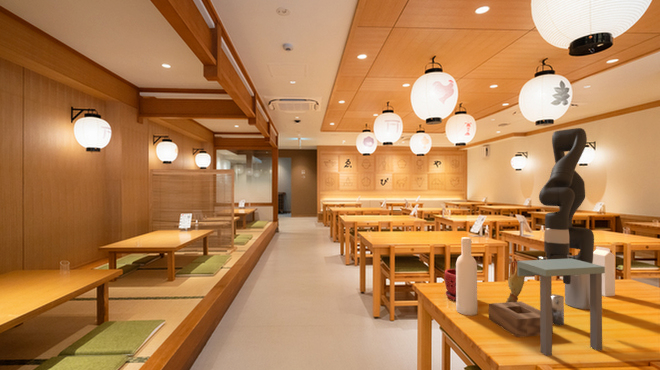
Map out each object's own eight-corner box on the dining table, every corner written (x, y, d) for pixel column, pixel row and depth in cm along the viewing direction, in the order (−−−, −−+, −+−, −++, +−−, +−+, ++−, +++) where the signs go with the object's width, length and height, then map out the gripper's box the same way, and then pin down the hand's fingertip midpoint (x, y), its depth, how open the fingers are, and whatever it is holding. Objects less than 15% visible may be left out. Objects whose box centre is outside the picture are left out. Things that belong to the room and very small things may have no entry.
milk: (601, 291, 147) (601, 245, 148) (615, 295, 141) (615, 248, 142) (591, 292, 146) (591, 246, 146) (605, 296, 140) (605, 248, 140)
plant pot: (466, 306, 129) (466, 278, 129) (439, 297, 140) (438, 271, 140) (481, 299, 137) (481, 272, 137) (454, 291, 148) (454, 266, 148)
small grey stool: (571, 333, 105) (571, 258, 105) (605, 350, 94) (604, 266, 94) (517, 338, 102) (517, 260, 102) (546, 356, 91) (545, 269, 91)
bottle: (476, 317, 118) (475, 240, 118) (454, 312, 122) (454, 238, 123) (478, 310, 125) (478, 237, 125) (457, 306, 129) (457, 235, 129)
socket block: (521, 316, 119) (521, 301, 119) (552, 333, 105) (552, 316, 105) (488, 319, 116) (488, 303, 116) (516, 337, 103) (516, 319, 103)
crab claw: (526, 312, 122) (526, 263, 123) (516, 314, 121) (516, 264, 121) (511, 306, 129) (511, 259, 129) (502, 307, 127) (501, 260, 128)
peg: (556, 320, 116) (556, 293, 116) (566, 325, 112) (566, 297, 112) (547, 321, 115) (547, 294, 115) (557, 325, 111) (557, 298, 111)
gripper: (563, 238, 118) (563, 280, 118) (531, 239, 116) (531, 282, 116) (582, 242, 111) (582, 286, 111) (548, 243, 109) (548, 288, 108)
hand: (556, 284), depth 113 cm, fingers open, 8 cm apart
